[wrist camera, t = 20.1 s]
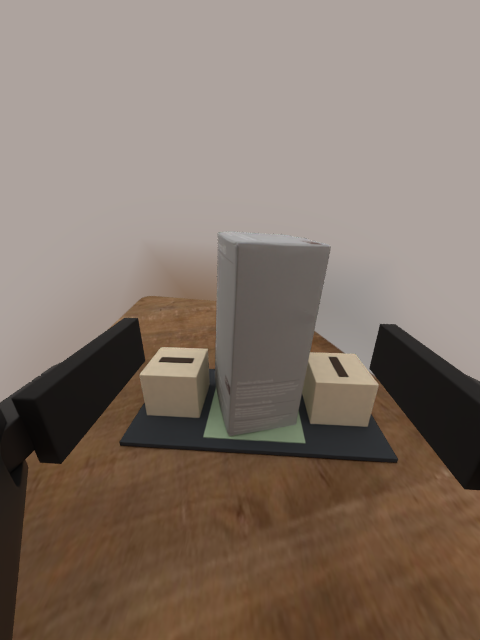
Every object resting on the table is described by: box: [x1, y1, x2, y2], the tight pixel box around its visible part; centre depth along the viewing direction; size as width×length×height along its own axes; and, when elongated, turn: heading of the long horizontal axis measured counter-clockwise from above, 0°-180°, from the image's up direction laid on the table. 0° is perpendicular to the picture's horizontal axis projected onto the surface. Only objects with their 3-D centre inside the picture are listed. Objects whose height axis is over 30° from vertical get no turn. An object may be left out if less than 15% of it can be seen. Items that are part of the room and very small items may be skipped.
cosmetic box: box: [215, 232, 331, 436], centre depth 21 cm, size 8×7×16 cm
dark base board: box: [120, 347, 398, 463], centre depth 23 cm, size 22×11×5 cm, turn 86°
